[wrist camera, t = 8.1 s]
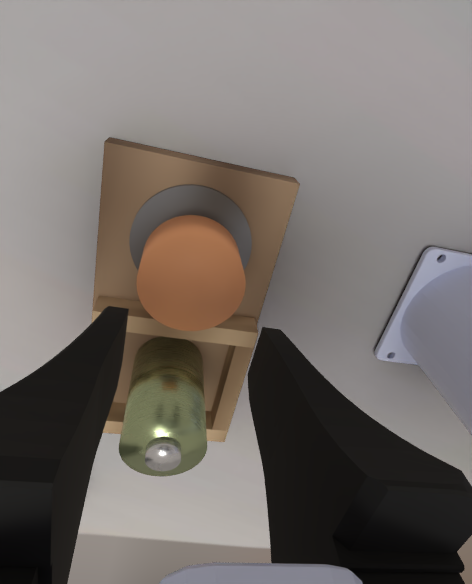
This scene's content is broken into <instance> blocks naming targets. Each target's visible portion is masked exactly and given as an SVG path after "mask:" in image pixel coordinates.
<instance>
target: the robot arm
mask: <svg viewBox="0 0 472 584" xmlns="http://www.w3.org/2000/svg"><path fill="white" fill-rule="evenodd" d="M440 255H442V257H441V258H440V259H438V260H437V258H438V257H439V256H440ZM128 312H129V309H127V308H120V307H113V306H108V307H106V308H105V309H104V310H103V311H102V312H101V314H100V315H99V316H98V317H97V318H96V319H95V320H94V322H93V323H92V324H91V325H90V326H89V327H88V328H87V329H86V330H85V331H84V332H83V333H81V334H80V335H79V336H78V337H77V338H76V339H75V340H74V341H73V342H72V343H71V344H70V345H68V346H67V347H66V348H65V349H64V350H62V351H61V352H60V353H59V354H58V355H56V356H55V357H54V358H53V359H51V360H50V361H49V362H47V363H46V364H44V365H43V366H42V367H40V368H39V369H37V370H36V371H34V372H33V373H31V374H30V375H28V376H27V377H25V378H24V379H22V380H20V381H19V382H17V383H15V384H14V385H12V386H10V387H8V388H7V389H5V390H3V391H1V392H0V584H67V582H68V577H69V572H70V568H71V563H72V558H73V553H74V549H75V543H76V539H77V534H78V530H79V525H80V520H81V516H82V511H83V507H84V502H85V497H86V493H87V488H88V484H89V479H90V475H91V470H92V466H93V462H94V458H95V455H96V451H97V448H98V445H99V442H100V439H101V436H102V433H103V430H104V427H105V424H106V421H107V418H108V415H109V412H110V408H111V405H112V402H113V399H114V396H115V393H116V390H117V386H118V381H119V376H120V371H121V366H122V361H123V353H124V345H125V337H126V329H127V320H128ZM391 352H392V353H391ZM389 353H391V354H389ZM388 354H389V355H388ZM375 356H376V357H377V359H379V360H383V361H391V362H398V363H406V364H414V365H419V366H420V368H421V369H422V370H423V372H424V373H425V374H426V376H427V377H428V378H429V380H430V381H431V382H432V384H433V385H434V386H435V388H436V389H437V390H438V391H439V393H440V394H441V395H442V397H443V398H444V399H445V401H446V402H447V403H448V405H449V406H450V407H451V409H452V410H453V411H454V413H455V414H456V415H457V417H458V418H459V419H460V420H461V422H462V423H463V424H464V426H465V427H466V428H467V430H468V431H469V432H470V434H471V435H472V254H469V253H464V252H459V251H454V250H448V249H443V248H438V247H429V248H427V249H426V250H425V251H424V252H423V254H422V256H421V258H420V260H419V262H418V264H417V266H416V268H415V270H414V272H413V274H412V276H411V278H410V280H409V282H408V284H407V286H406V289H405V291H404V293H403V295H402V297H401V299H400V301H399V303H398V305H397V307H396V309H395V311H394V313H393V315H392V317H391V319H390V321H389V323H388V325H387V327H386V329H385V331H384V333H383V335H382V337H381V339H380V341H379V343H378V345H377V347H376V349H375ZM248 389H249V401H250V407H251V412H252V417H253V421H254V426H255V431H256V436H257V440H258V445H259V450H260V454H261V459H262V465H263V471H264V477H265V487H266V497H267V507H268V519H269V531H270V545H271V561H272V563H217V562H213V563H205V564H197V565H189V566H186V567H184V568H182V569H179V570H177V571H175V572H173V573H171V574H168V575H166V576H165V577H164V578H163V579H162V580H161V582H160V583H159V584H465V583H464V581H463V580H462V577H461V576H460V574H459V573H462V572H463V571H464V564H463V562H462V560H461V559H460V557H459V555H458V553H457V551H458V550H459V549H460V548H461V546H462V545H463V544H464V543H465V542H466V541H467V539H468V538H469V537H470V536H471V535H472V486H471V485H470V483H469V482H468V480H467V479H466V477H465V476H464V474H463V473H462V471H461V470H459V469H457V468H455V467H453V466H451V465H449V464H447V463H445V462H443V461H441V460H439V459H438V458H436V457H434V456H432V455H430V454H428V453H426V452H424V451H422V450H421V449H419V448H417V447H416V446H414V445H412V444H410V443H409V442H407V441H405V440H404V439H402V438H401V437H399V436H397V435H396V434H394V433H393V432H391V431H390V430H388V429H387V428H385V427H384V426H382V425H381V424H380V423H378V422H377V421H375V420H374V419H372V418H371V417H370V416H368V415H367V414H366V413H364V412H363V411H362V410H360V409H359V408H358V407H357V406H356V405H354V404H353V403H352V402H351V401H350V400H348V399H347V398H346V397H345V396H344V395H342V394H341V393H340V392H339V391H338V390H337V389H336V388H335V387H334V386H333V385H332V384H331V383H330V382H329V381H327V380H326V379H325V378H324V377H323V376H322V375H321V374H320V373H319V372H318V370H317V369H316V368H315V367H314V366H313V365H312V364H311V363H310V362H309V361H308V360H307V359H306V358H305V356H304V355H303V354H302V353H301V352H300V351H299V350H298V349H297V347H296V346H295V345H294V344H293V343H292V342H291V341H290V340H289V338H288V337H287V336H286V335H285V334H284V333H283V332H282V331H281V330H279V329H272V328H265V327H263V328H262V331H261V334H260V337H259V340H258V343H257V347H256V350H255V353H254V356H253V359H252V362H251V366H250V369H249V372H248Z"/></svg>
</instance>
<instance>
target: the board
mask: <svg viewBox="0 0 472 584" xmlns="http://www.w3.org/2000/svg"><path fill="white" fill-rule="evenodd" d="M299 185H300V184H299V183H298V182H297V180H296V179H295V178H293V177H288V176H284V175H279V174H274V173H270V172H265V171H261V170H256V169H252V168H247V167H242V166H238V165H233V164H229V163H224V162H220V161H215V160H210V159H206V158H201V157H197V156H192V155H188V154H183V153H178V152H174V151H169V150H165V149H160V148H156V147H151V146H146V145H142V144H137V143H133V142H128V141H124V140H119V139H115V138H110V137H109V138H108V139H107V140H106V141H105V143H104V157H103V171H102V185H101V199H100V213H99V227H98V241H97V255H96V269H95V283H94V297H93V311H92V323H93V322H94V320H95V319H96V318H97V317H98V316H99V315H100V314H101V312H102V311H103V310H104V309H105V308H106V307H108V306H113V307H120V308H127V309H129V312H128V320H127V329H126V337H125V345H124V353H123V361H122V366H121V371H120V376H119V381H118V386H117V390H116V393H115V396H114V399H113V402H112V405H111V408H110V412H109V415H108V418H107V421H106V424H105V427H104V430H103V433H115V434H121V432H122V426H123V420H124V415H125V409H126V403H127V397H128V392H129V386H130V380H131V375H132V369H133V363H134V358H135V355H136V353H137V351H138V349H139V348H140V347H141V346H142V345H143V344H144V343H146V342H147V341H149V340H151V339H153V338H157V337H161V336H163V337H171V338H179V339H186V340H188V341H190V342H191V343H193V344H194V345H195V346H196V347H197V348H198V349H199V351H200V353H201V355H202V359H203V376H204V395H205V414H206V433H207V441H218V442H225V439H226V435H227V432H228V429H229V426H230V423H231V419H232V416H233V413H234V410H235V407H236V403H237V400H238V397H239V394H240V390H241V387H242V384H243V381H244V378H245V374H246V371H247V368H248V365H249V362H250V358H251V355H252V352H253V349H254V346H255V342H256V339H257V336H258V330H257V322H258V319H259V316H260V312H261V309H262V306H263V303H264V299H265V296H266V293H267V290H268V286H269V283H270V280H271V277H272V273H273V270H274V267H275V263H276V260H277V257H278V254H279V250H280V247H281V244H282V241H283V237H284V234H285V231H286V228H287V224H288V221H289V218H290V214H291V211H292V208H293V205H294V201H295V198H296V195H297V192H298V188H299ZM184 215H198V216H203V217H207V218H210V219H212V220H214V221H216V222H218V223H219V224H221V225H222V226H223V227H225V228H226V229H227V230H228V231H229V232H230V234H231V235H232V236H233V238H234V240H235V242H236V244H237V247H238V250H239V254H240V258H241V262H242V266H243V270H244V274H245V280H246V288H245V293H244V297H243V300H242V302H241V304H240V306H239V307H238V309H237V310H236V311H235V312H234V313H233V315H232V316H230V317H229V318H228V319H227V320H225V321H224V322H222V323H221V324H219V325H217V326H215V327H212V328H209V329H205V330H200V331H182V330H177V329H173V328H170V327H168V326H165V325H163V324H162V323H160V322H158V321H157V320H155V319H154V318H153V317H152V316H151V315H150V314H149V313H148V312H147V311H146V310H145V308H144V307H143V305H142V303H141V301H140V299H139V296H138V293H137V286H136V282H137V274H138V270H139V266H140V262H141V258H142V254H143V250H144V246H145V244H146V241H147V239H148V238H149V236H150V235H151V233H152V232H153V231H154V230H155V229H156V228H157V227H158V226H159V225H161V224H162V223H164V222H165V221H167V220H169V219H172V218H174V217H178V216H184Z"/></svg>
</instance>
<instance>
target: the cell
mask: <svg viewBox="0 0 472 584" xmlns="http://www.w3.org/2000/svg"><path fill="white" fill-rule="evenodd" d="M206 450H207V433H206V414H205V395H204V376H203V359H202V355H201V353H200V351H199V349H198V348H197V347H196V346H195V345H194V344H193V343H191V342H190V341H188V340H186V339H179V338H171V337H163V336H161V337H157V338H153V339H151V340H149V341H147V342H146V343H144V344H143V345H142V346H141V347H140V348H139V349H138V351H137V353H136V355H135V358H134V363H133V369H132V375H131V380H130V386H129V392H128V397H127V403H126V409H125V415H124V420H123V426H122V432H121V437H120V443H119V453H120V456H121V458H122V460H123V461H124V462H125V463H126V464H127V465H128V466H129V467H130V468H132V469H133V470H135V471H137V472H140V473H143V474H146V475H151V476H171V475H176V474H180V473H183V472H185V471H188V470H190V469H192V468H193V467H195V466H196V465H197V464H198V463H199V462H200V461H201V460H202V459H203V457H204V456H205V454H206Z"/></svg>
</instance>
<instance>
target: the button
mask: <svg viewBox="0 0 472 584" xmlns="http://www.w3.org/2000/svg"><path fill="white" fill-rule="evenodd" d="M136 286H137V293H138V296H139V299H140V301H141V303H142V305H143V307H144V308H145V310H146V311H147V312H148V313H149V314H150V315H151V316H152V317H153V318H154V319H155V320H157V321H158V322H160V323H162V324H163V325H165V326H168V327H170V328H173V329H177V330H182V331H200V330H205V329H209V328H212V327H215V326H217V325H219V324H221V323H222V322H224V321H225V320H227V319H228V318H229V317H230V316H232V315H233V313H234V312H235V311H236V310H237V309H238V307H239V306H240V304H241V302H242V300H243V297H244V293H245V288H246V280H245V274H244V270H243V266H242V262H241V258H240V254H239V250H238V247H237V244H236V242H235V240H234V238H233V236H232V235H231V234H230V232H229V231H228V230H227V229H226V228H225V227H223V226H222V225H221V224H219V223H218V222H216V221H214V220H212V219H210V218H207V217H203V216H198V215H184V216H178V217H174V218H172V219H169V220H167V221H165V222H164V223H162V224H161V225H159V226H158V227H157V228H156V229H155V230H154V231H153V232H152V233H151V235H150V236H149V238H148V239H147V241H146V244H145V246H144V250H143V254H142V258H141V262H140V266H139V270H138V274H137V282H136Z"/></svg>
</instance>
